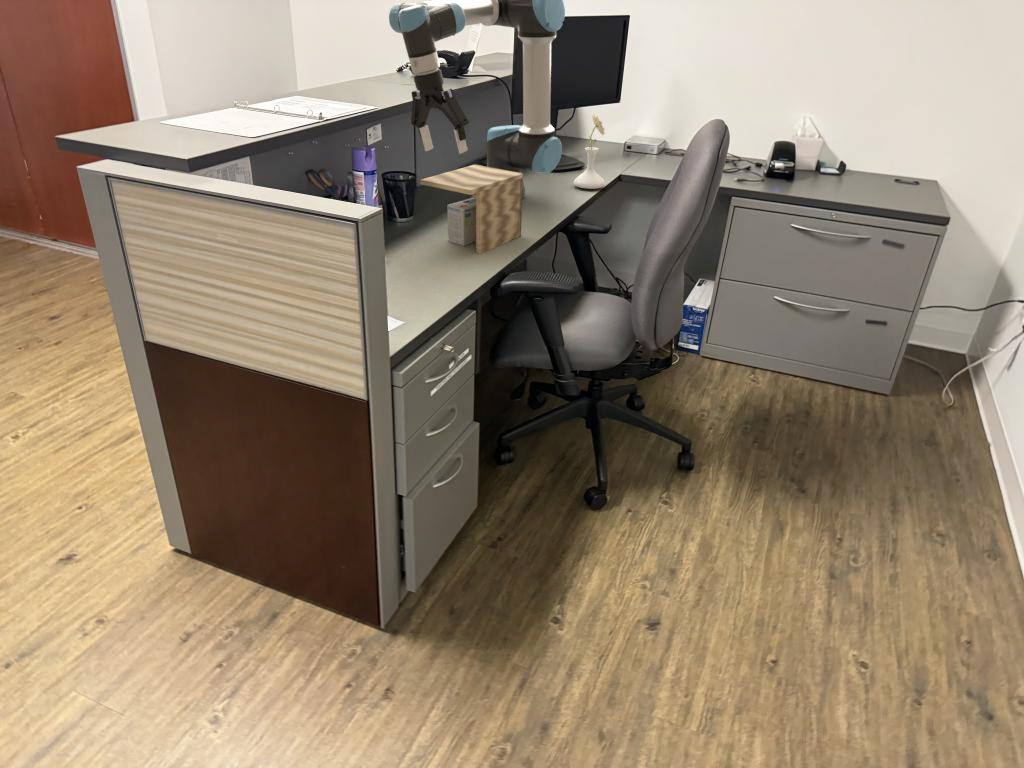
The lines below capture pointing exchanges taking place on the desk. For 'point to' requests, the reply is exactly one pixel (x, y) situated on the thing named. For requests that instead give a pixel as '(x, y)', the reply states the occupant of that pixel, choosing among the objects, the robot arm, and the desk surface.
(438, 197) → the desk surface
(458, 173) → the wooden monitor riser
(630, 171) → the desk surface
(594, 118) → the flower in vase
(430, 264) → the desk surface
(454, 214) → the light bulb box
